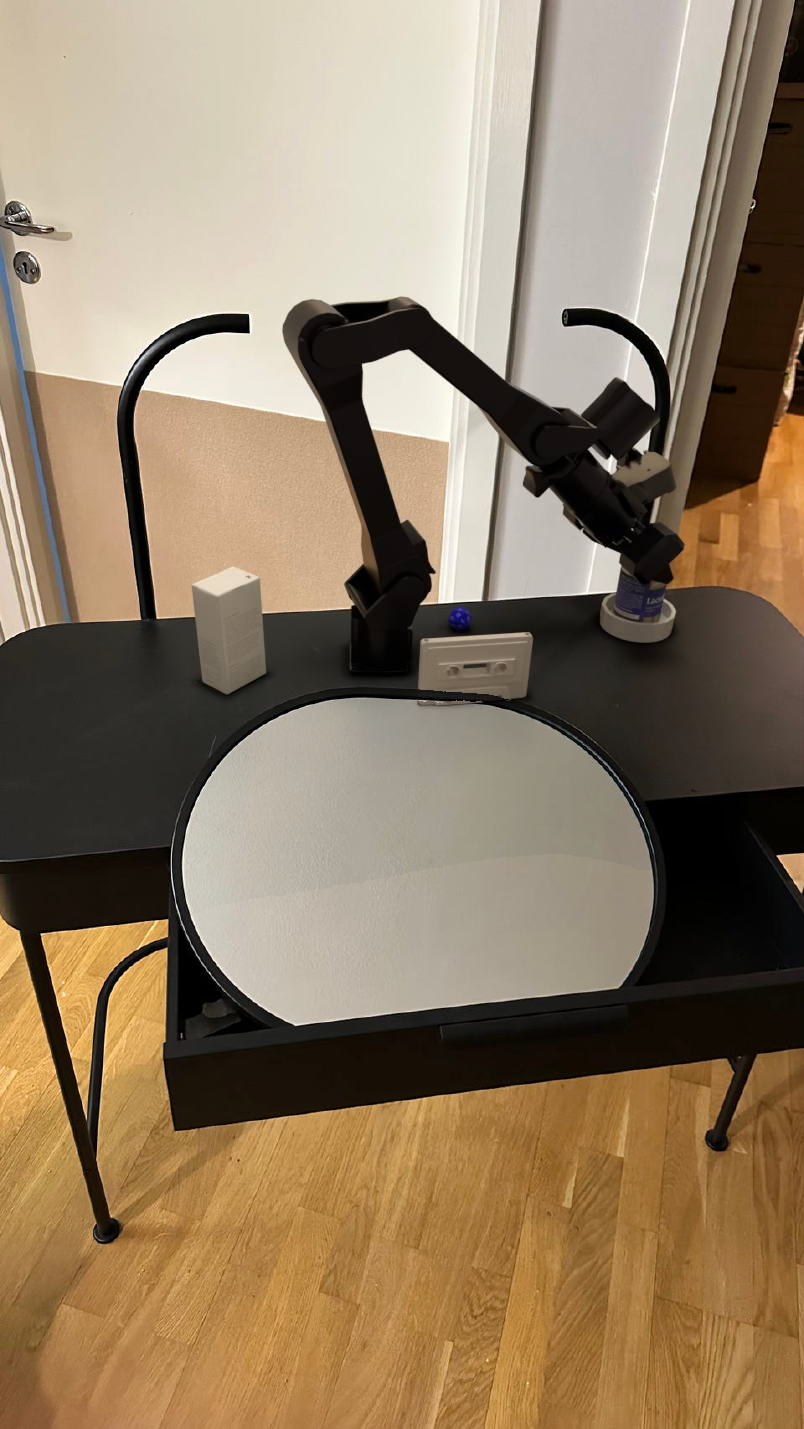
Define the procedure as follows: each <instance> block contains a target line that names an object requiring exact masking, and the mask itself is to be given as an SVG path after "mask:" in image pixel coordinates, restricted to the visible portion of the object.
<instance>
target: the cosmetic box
mask: <svg viewBox="0 0 804 1429" xmlns="http://www.w3.org/2000/svg"><path fill="white" fill-rule="evenodd" d="M191 592H192V601H193V602H192V603H193V611H194V619H195V620H194V621H195V627H196V639H197V645H198V654H199V662H200V664H199V665H200V672H201V681H202V683H204V685H205V684H206V685H207V686H209V687H210V688H211V687H212V688H213V689H215V690H217V691H219V692H221V693H223V694H224V695H230V694H231V693H233V692H235V691H236V690H238V689H241V688H243V687H244V686H245V685H248V684H250V683H251V682H253V681H255V680H257V679H259V678H260V677H262V676H264V675H266V674H267V665H266V664H267V661H266V648H265V634H264V620H263V619H264V618H263V604H262V603H263V602H262V590H261V578H260V577H259V576H257V575H255V574H253V573H250V572H248V571H246V570H244V569H241V568H239V567H236V566H230V567H228V568H226V569H224V570H222V571H219V572H216V573H215V574H212V575H210V576H208V577H206V578H203V579H201V580H199V581H196V582H194V583H192V584H191Z"/></svg>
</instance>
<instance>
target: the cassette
mask: <svg viewBox="0 0 804 1429" xmlns="http://www.w3.org/2000/svg"><path fill="white" fill-rule="evenodd" d="M533 643H534V638H533V635H532V634H531V632H529V631H528V632H527V631H526V632H512V633H497V634H496V633H495V634H493V633H492V634H477V635H462V636H448V637H447V636H446V637H432V638H429V637H428V638H422V639H421V640H420V644H419V645H420V647H419V661H418V662H419V665H418V683H417V684H418V686H417V690H418V689H420V690H434V691H443V692H444V691H446V692H462V693H477V694H489V695H494V696H498V697H501V698H504V699H509V700H508V701H511V699H522V698H523V699H524V698H525V697H526V696H527V694H528V693H527V692H528V683H529V677H530V676H529V675H530V668H531V661H532V660H531V659H532V652H533ZM480 664H485V667H471V668H470V667H469V668H468V667H467V668H464V667H465V666H464V665H480ZM417 702H418V703H419V705H420V706H429V705H435V706H437V707H438V705H439V706H451V705H464V704H465V705H466V704H477V703H483V702H482V701H476V702H470V701H465V700H463V701H457V700H456V701H451V702H445V701H443V703H441V702H439V703H437V702H435V701H426V702H423V701H418V700H417Z"/></svg>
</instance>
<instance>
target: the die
mask: <svg viewBox="0 0 804 1429" xmlns="http://www.w3.org/2000/svg"><path fill="white" fill-rule="evenodd" d="M472 618H473V616H472V614H471V613H470V612H469V611H468V610H467V609H466V608H465V607H464V606H461V607H458V608H455V609H452V611H451V612H450V614H449V617H448V619H447V623H448V624H449V625H450V626H451V627H452V629H454V630H455V632H457V631H461V630H465V629H467V628H468V626H469V624H470V623H471V620H472Z"/></svg>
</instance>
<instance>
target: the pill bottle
mask: <svg viewBox="0 0 804 1429" xmlns="http://www.w3.org/2000/svg"><path fill="white" fill-rule="evenodd" d="M617 580H618V582H617V586H616V591H615V593H616V596H615V602H614V607H613V614H614V615H616V616H618V617H620V618H623V619H625V620H629V621H634V622H639V623H655V622H659V619H660V615H661V610H662V605H663V600H664V599H665V594H666V589H667V585H668V584H663V583H659V582H656V581H651V582H650V583H649V584H644V585H642V584H641V583H639V582H638V581H637V580H636V579H635V578H634V577H633V576H631V575H630V574H629V573H628V572H627V571H626V570H625V569H624V568H623V567H622V566H621V565H620V570H619V575H618V579H617Z"/></svg>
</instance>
